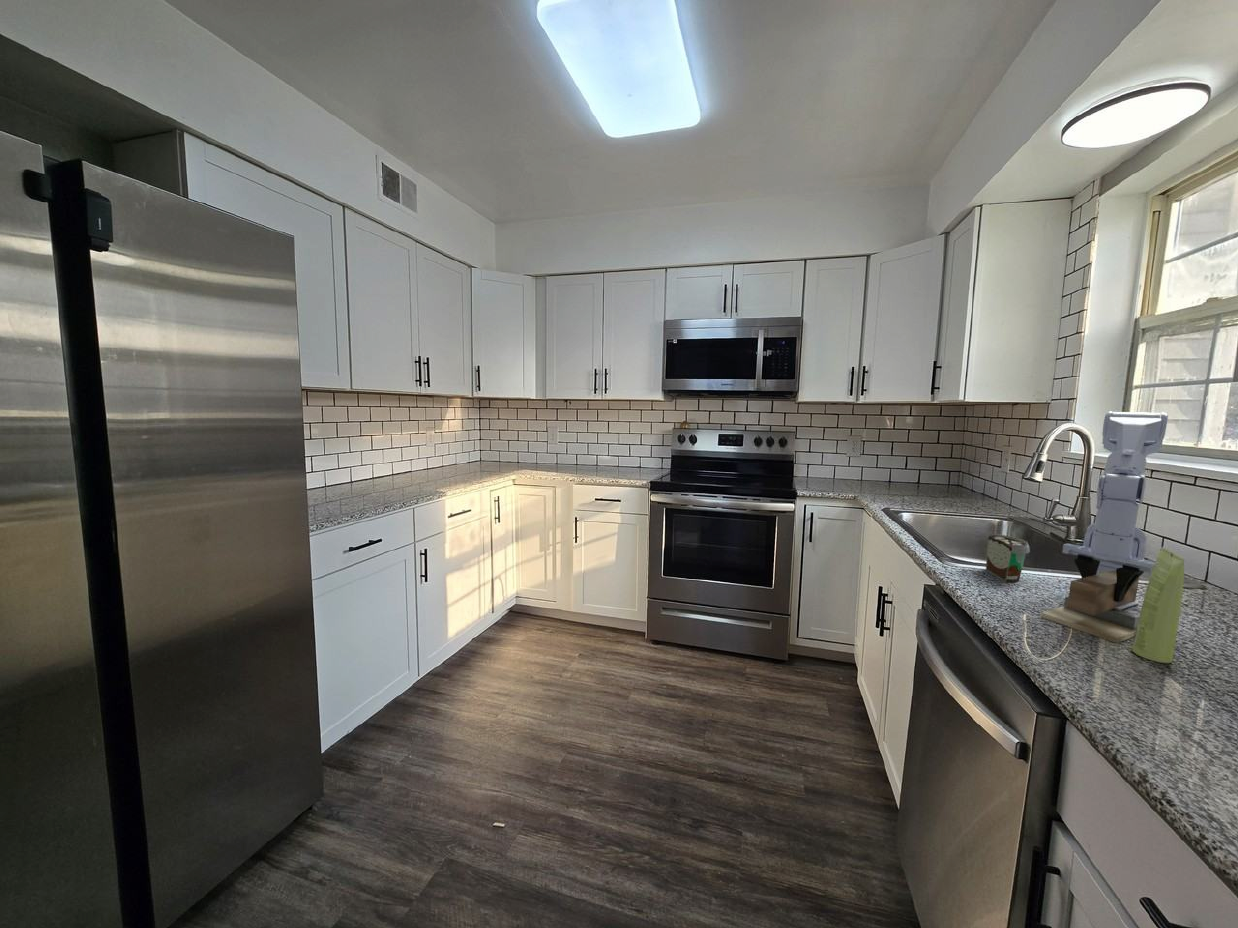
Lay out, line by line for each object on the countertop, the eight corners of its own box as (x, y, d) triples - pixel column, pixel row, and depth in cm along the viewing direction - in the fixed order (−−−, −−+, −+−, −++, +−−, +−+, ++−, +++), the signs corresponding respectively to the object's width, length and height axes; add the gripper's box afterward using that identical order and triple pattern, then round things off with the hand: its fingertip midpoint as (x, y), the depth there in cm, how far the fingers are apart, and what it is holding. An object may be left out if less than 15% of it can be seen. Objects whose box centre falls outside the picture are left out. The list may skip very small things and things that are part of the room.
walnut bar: (1109, 594, 106) (1113, 570, 105) (1135, 601, 102) (1139, 576, 101) (1067, 606, 98) (1071, 581, 98) (1092, 615, 95) (1096, 588, 94)
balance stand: (1083, 604, 110) (1086, 589, 109) (1158, 626, 99) (1161, 610, 99) (1040, 616, 102) (1043, 601, 102) (1117, 643, 92) (1120, 625, 91)
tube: (1184, 664, 84) (1205, 556, 82) (1163, 667, 83) (1184, 557, 81) (1143, 648, 90) (1161, 546, 87) (1123, 650, 89) (1141, 547, 86)
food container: (1037, 586, 120) (1042, 547, 119) (1008, 584, 122) (1014, 545, 120) (1008, 570, 132) (1013, 534, 131) (982, 567, 133) (987, 532, 132)
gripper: (1059, 525, 103) (1050, 586, 105) (1155, 544, 90) (1143, 613, 92) (1075, 523, 106) (1066, 582, 108) (1171, 540, 93) (1159, 608, 95)
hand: (1103, 596), depth 100 cm, fingers open, 4 cm apart
